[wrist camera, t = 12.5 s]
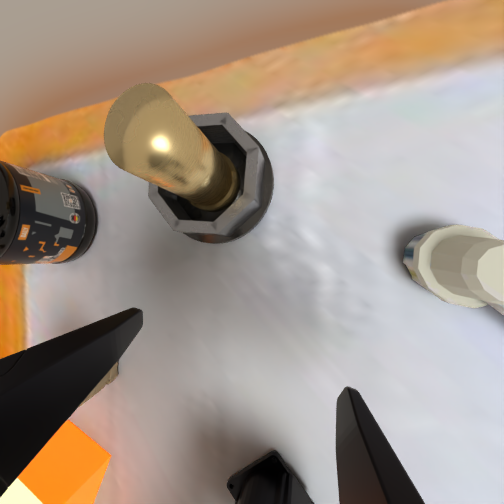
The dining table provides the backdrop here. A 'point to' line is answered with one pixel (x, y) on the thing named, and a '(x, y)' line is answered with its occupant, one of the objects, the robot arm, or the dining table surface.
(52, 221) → the supplement container
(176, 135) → the gold bulb-shaped piece
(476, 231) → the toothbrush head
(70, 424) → the orange juice
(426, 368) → the dining table surface
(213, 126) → the collar fitting
